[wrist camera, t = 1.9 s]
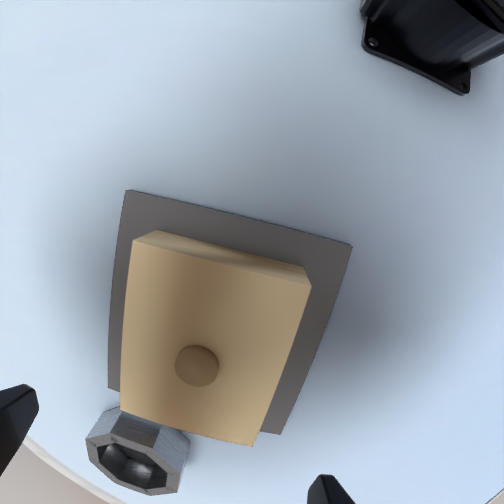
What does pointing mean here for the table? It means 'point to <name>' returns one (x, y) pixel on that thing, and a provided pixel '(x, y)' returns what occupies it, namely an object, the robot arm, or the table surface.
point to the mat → (246, 240)
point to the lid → (206, 335)
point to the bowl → (138, 452)
